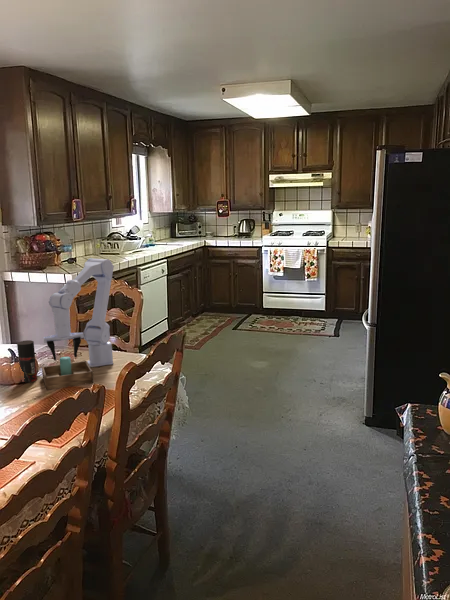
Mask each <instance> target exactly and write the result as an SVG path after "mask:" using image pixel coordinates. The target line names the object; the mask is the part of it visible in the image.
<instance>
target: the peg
mask: <svg viewBox="0 0 450 600" xmlns="http://www.w3.org/2000/svg"><path fill="white" fill-rule="evenodd" d="M71 363H72V361H71V356H62V357H61V356H60V357H59V365H60V369H61V376H63V375H69V374H72V372H71Z"/></svg>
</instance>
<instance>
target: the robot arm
mask: <svg viewBox="0 0 450 600" xmlns="http://www.w3.org/2000/svg"><path fill="white" fill-rule="evenodd" d="M83 265H84V266H83V268H82V269H81V271H79V272H78V273H77V275H76V276H75V278H74V279H69V280H67V281H66V283H65V284H64V285H63V287H61V288H60V289H59V290H58V291H57V292H54V293H52V295H50V298H49V301H48V304H49V306H50V308H51V312H52V313H53V323H54V334H51V335H48V336H43V337H42V339H43V343H44V344H47V346H48V348H49V349H50V352H51V354H52V357H53V361H57V356H56V350H55V349H56V345H55V342H59V341H61V342H62V341H68V340H72V342H73V356H74V358H77V357H78V356H77V355H78V350H79V347H80V344H81V343H82V339H83V340H84V341H85V342H86V344H87V345H88V347H87V348H88V356H89V357H88V358H89V359H88V360H86V361H87V363H88V365H89V366H90V368H96V367H101V366H110V365H114V360H113V346H112V342H111V341H109V340H110V338H111V334H110V325H109V324H108V323H107V321H106V318H107V312H108V311H107V310H108V306H109V305H108V304H109V298H110V293H111V292H110V291H111V285H112V281H113V272H114V267H115V266H114V265H113V262H112V261H111V260H110V259H109V258H92V257H90V258H88V259H87V260H86V261H85V262H84V264H83ZM91 277H92V278H94V279H95V281H96V282H97V285H96V292H95V299H94V303H93V311H92V316H91V319H90V320H89V321H88V322H86V325H85V328H84V330H83V332H72V328H71V317H70V307H71V306H72V304H73V300H74V298H75V297H76V296H77V295H78V293H80V292H81V290H82V285H83V284H84V283H86V282H87V281H88V280H89V279H90V278H91Z"/></svg>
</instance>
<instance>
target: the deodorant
mask: <svg viewBox="0 0 450 600" xmlns="http://www.w3.org/2000/svg"><path fill="white" fill-rule="evenodd" d="M16 347H17V354H18V355H17V356H18V366H19V365H20V367H21V369H22V371H23V372H24V378H25V379H24V381H25V384H26V383H33V382H36V381H37V380H38V371H37V362H36V361H37V360H36V353H35V342H34V340H32V339H31V340H27V339H26V340H21V341H17V343H16ZM20 367H19V368H20Z"/></svg>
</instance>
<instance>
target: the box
mask: <svg viewBox="0 0 450 600" xmlns="http://www.w3.org/2000/svg"><path fill="white" fill-rule="evenodd" d="M87 361H88V360H84V361H83V360H82V361H75V362H71V372H72V374H69V375H63V376H61V369H60V364H55V365H46V366H41V372H42V380H43V384H44V387H45V391H49V390H50V391H51V390H56V389H64V388H69V387H68V386H70V387H77V386H82V385H88V384H89V385H90V384H94V373H93V372H94V371H93V370H92V367H90V366H89V364H88V362H87ZM63 387H64V388H63Z"/></svg>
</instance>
